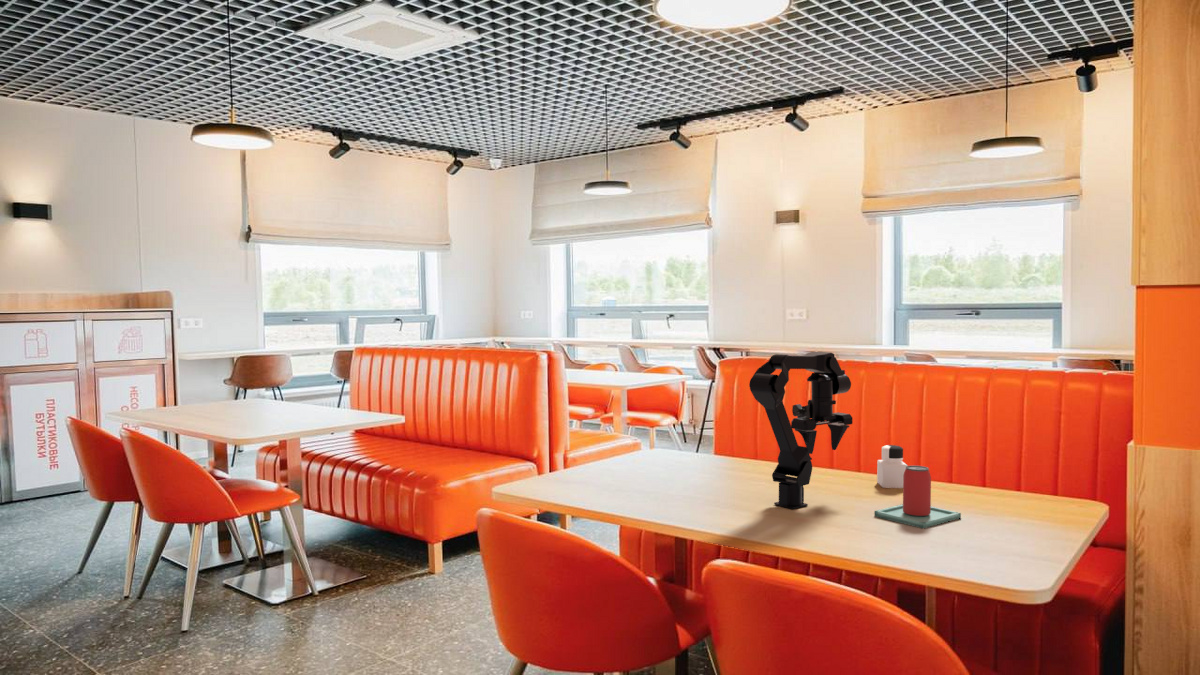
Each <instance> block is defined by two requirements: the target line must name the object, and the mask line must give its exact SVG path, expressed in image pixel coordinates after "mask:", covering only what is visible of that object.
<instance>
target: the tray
mask: <svg viewBox="0 0 1200 675" xmlns="http://www.w3.org/2000/svg"><path fill="white" fill-rule="evenodd" d="M873 515H874V517H875V516H876V518H879V517H880V519H884V520H888V521H892V522H896V523H899V524H903V523H904V525H907V524H908V525H907V526H911V525H912V527H915V526H916V527H915V528H919V527H920V528H919V529H923V528H924V529H927V528H930V526H931V527H934V526H933V525H935V526H937V524H938V525H942V524H944V522H946V523H949V522H948V521H950V522H952V521H951V520H953V521H956V520H955V519H957V520H960V519H959V518H961V517H962V516H961V515H962V513H961V512H958V511H954V510H950V509H944V508H940V507H935V506H931V513H930V514H929V515H928V516H926V517H915V516H909V515H907V514H905V513H904V512H903V503H902V504H898V505H895V506H890V507H885V508H881V509H877V510H874V513H873ZM961 519H962V518H961ZM941 523H942V524H941ZM926 527H927V528H926Z"/></svg>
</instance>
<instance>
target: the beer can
mask: <svg viewBox="0 0 1200 675" xmlns="http://www.w3.org/2000/svg"><path fill="white" fill-rule="evenodd" d="M931 475H932V474H931V473H930V468H929V467H927V466H923V465H907V466H906V469H905V472H904V475H903V488H902V504H903V512H904V513H905V514H907V515H909V516H915V517H926V516H928V515H929V514H930V513H931V505H932V501H931V499H932V498H931V497H932V496H931V495H932V476H931Z"/></svg>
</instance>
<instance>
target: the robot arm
mask: <svg viewBox="0 0 1200 675" xmlns="http://www.w3.org/2000/svg"><path fill="white" fill-rule="evenodd" d="M776 370H781V371H780V372H779V374H773V373H774V372H775V371H776ZM791 370H805V371H808V372H812V373H811V374H810V376H808V377H807V378H806V380H807V382H811V383H810V384H811V392H810V393H811V399H808V401H807V404H806V405H804V406H803V405H802V404H801V403H798V404H794V405H792V409H791V412H792V415H793V417H794V418H792V420H791V421H790V419H789V416H788V413H787V410H786V407H785V405H784V401H783V400H784V397H785V393H786V390H785V386H786V385H787V384H788V382H789V380H790V379H789V378H790V376H789V374H790V373H789V372H790V371H791ZM845 372H846V371H845V370H844V369H842V368H841V365H840V363H839V362H838V359H837V358H836V356H835V354H834V353H833V352H826V351H810V352H807V353H805V354H804V355H800V354H799V355H797V354H796V355H795V354H793V355H792V354H791V355H790V354H782V353H781V354H780V353H775V354H773V355H772V356H770V357H769V359H768V360H767V362H765V363H764V364H762V365H761V366H760V367H758V368H757V369H756V370H755V372H754V374H753V376H751V378H750V380H749V382H748V384H749V386H748V387H749V390H750V392H751V394H752V396H753V398H754V400H756V401H757V402H758V403H759V404H760V405H761V406H762V407H763V408H764V410H765V413H766V415H767V419H768V421H769V424H770V426H771V429H772V432H773V435H774V437H775V440H776V442H777V446H778V449H779V453H778V456H777V463H778V464H777V465H776V467H775V469H774V471H773V472H772V473H771V474H772V475H771V478H772V481H773V482H774V483H778V501H777V502H774V503H773V504H774V505H775V506H779V507H783V508H786V509H789V510H795V509H799V508H802V507H803V508H804V507H808V503H805V502H804V501H805V500H804V498H805V488H804V486H807V485H810V481H811V477H812V472H813V463H812V461H811V460H813V458H812V457H811V455H813V453H814V449H815V443H816V438H817V432H818V431H817V430H815V429H816V428H817V426H822V425H827V427H828V428H829V430H830V444H831V449H832V450H833V451H835V450H837V449H838V446H839V445H840V442H841V440H842V438H843V437H844V435H845V433H846V431H847V429H849V428H850V425H853V416H852V415H851V414H850V413H844V412H833V411H834V410H833V409H834V407H833V405H836V404H837V400H835V399H834V400H833V396H834V395H840V394H846V393H848V392H849V391H850V389H851V386H852V382H851V379H850V378H849V375H847V374H846V373H845ZM794 431H795V432H797V433H799V434H800V435H801V437H802V439H803V441H804V443H805V444H804V445H805V446H802V445H799V443H798V442H797V439H796V436H795V433H794Z"/></svg>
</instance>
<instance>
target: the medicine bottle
mask: <svg viewBox="0 0 1200 675" xmlns="http://www.w3.org/2000/svg"><path fill="white" fill-rule="evenodd" d="M903 460H904V448H903V447H902V446H900V445H897V444H895V445H894V444H887V445H886V444H885V445H884V446H881V459H877V461H876V462H877V465H876V468H877V472H876V473H877V475H876V482H877V484H878V485H879V486H880V487H881V488H883V489H903V475H904V472H905V469H906V466H908V464H906V462H904V461H903Z"/></svg>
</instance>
